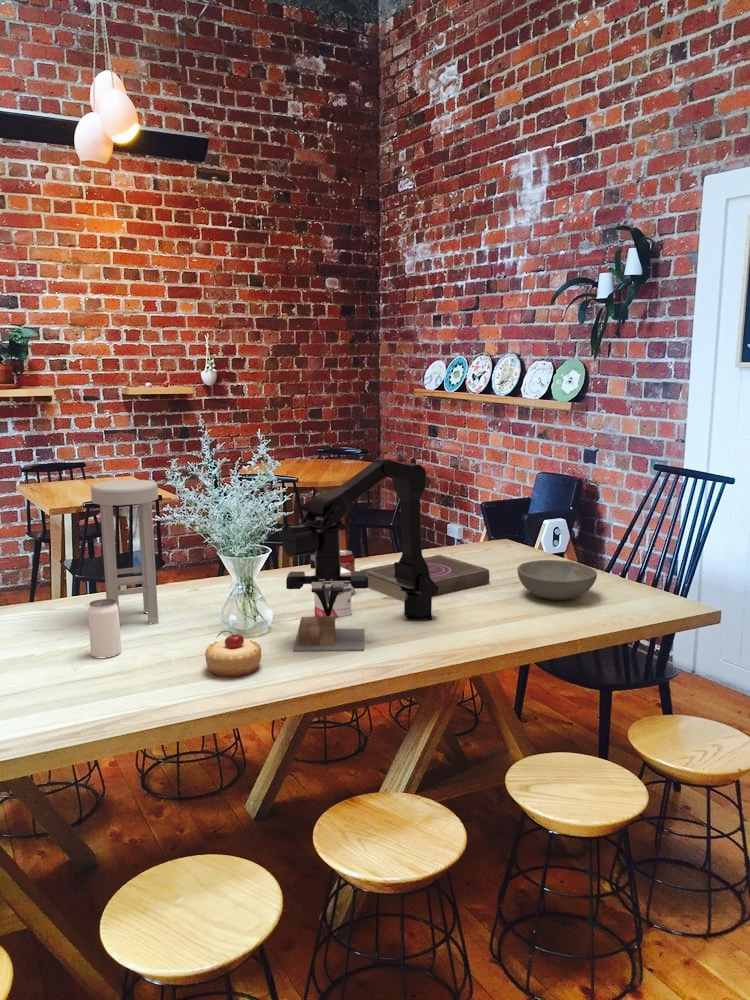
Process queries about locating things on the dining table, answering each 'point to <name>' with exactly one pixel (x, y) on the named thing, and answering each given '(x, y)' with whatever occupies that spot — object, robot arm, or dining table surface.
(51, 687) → the dining table surface
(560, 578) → the bowl
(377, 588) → the book
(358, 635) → the mat
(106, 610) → the can
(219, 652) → the pastry
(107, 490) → the stool
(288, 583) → the robot arm
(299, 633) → the slab
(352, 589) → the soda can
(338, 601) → the ink box
